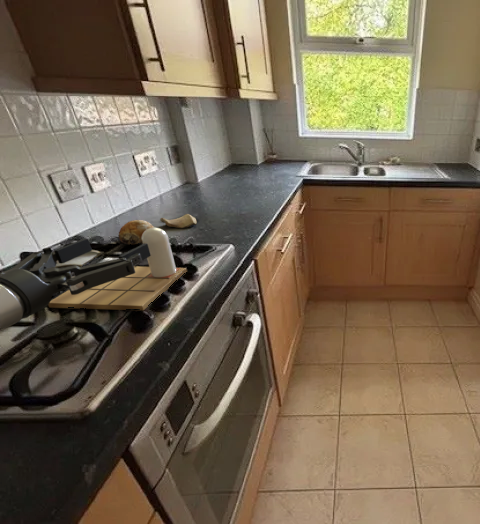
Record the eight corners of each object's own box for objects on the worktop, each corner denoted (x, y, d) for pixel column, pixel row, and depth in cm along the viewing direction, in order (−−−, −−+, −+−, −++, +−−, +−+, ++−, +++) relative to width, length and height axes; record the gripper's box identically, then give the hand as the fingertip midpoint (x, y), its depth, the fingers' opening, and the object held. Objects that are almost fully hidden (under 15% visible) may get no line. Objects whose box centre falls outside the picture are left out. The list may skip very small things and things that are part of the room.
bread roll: (161, 249, 107) (166, 225, 107) (126, 246, 98) (132, 220, 97) (144, 243, 111) (149, 220, 111) (109, 239, 102) (115, 214, 102)
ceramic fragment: (101, 255, 94) (96, 242, 92) (107, 260, 91) (102, 247, 89) (35, 273, 84) (28, 259, 82) (40, 279, 81) (33, 265, 79)
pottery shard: (188, 222, 125) (158, 221, 118) (189, 210, 124) (159, 209, 117) (199, 231, 119) (167, 230, 112) (200, 219, 118) (168, 218, 110)
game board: (49, 307, 70) (46, 302, 69) (110, 269, 86) (109, 265, 86) (143, 310, 70) (142, 305, 69) (187, 271, 86) (186, 267, 86)
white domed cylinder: (146, 277, 80) (133, 231, 75) (159, 267, 85) (148, 224, 80) (169, 277, 80) (157, 232, 75) (180, 267, 85) (170, 224, 80)
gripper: (-55, 312, 53) (70, 258, 72) (85, 329, 50) (176, 268, 69) (-81, 271, 50) (57, 225, 69) (67, 286, 47) (168, 234, 66)
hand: (117, 246), depth 69 cm, fingers open, 13 cm apart
